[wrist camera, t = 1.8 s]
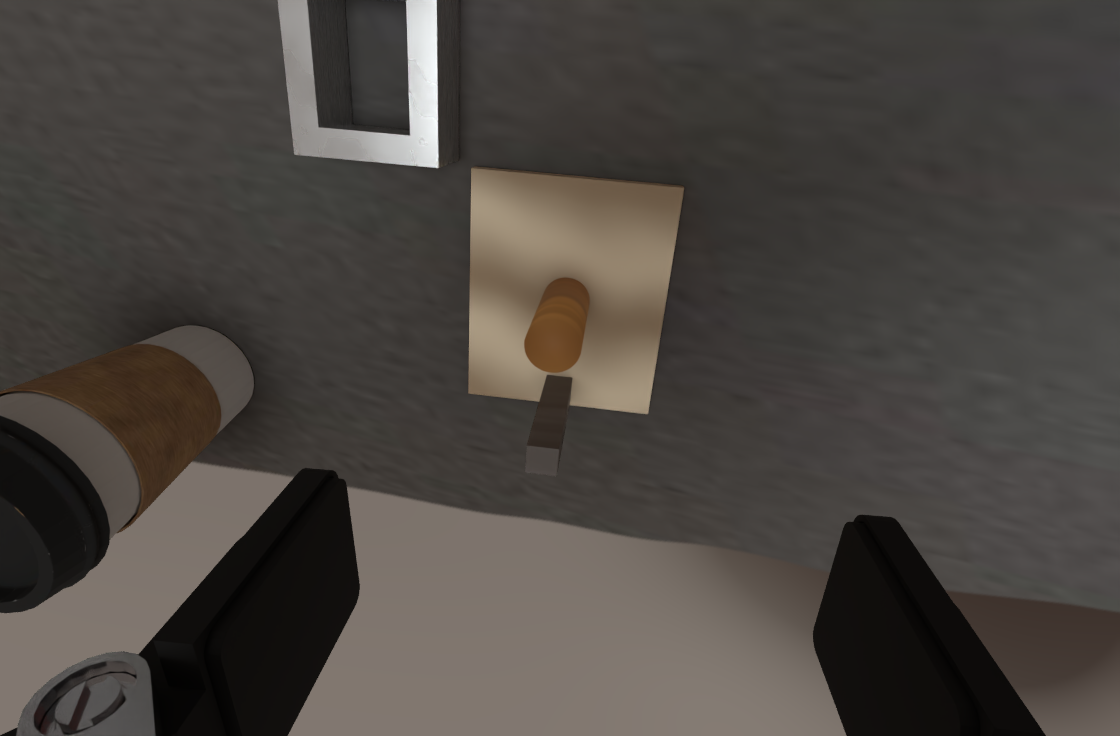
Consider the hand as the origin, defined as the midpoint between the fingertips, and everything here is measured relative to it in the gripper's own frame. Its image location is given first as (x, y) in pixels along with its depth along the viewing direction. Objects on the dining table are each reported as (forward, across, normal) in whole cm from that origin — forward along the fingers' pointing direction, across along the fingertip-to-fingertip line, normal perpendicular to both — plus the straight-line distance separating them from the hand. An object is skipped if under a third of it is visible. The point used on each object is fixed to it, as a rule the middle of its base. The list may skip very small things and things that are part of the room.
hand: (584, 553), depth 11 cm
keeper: (+21, +2, +1) cm, 21 cm away
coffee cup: (+21, +23, +8) cm, 32 cm away
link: (+21, +10, -9) cm, 25 cm away
